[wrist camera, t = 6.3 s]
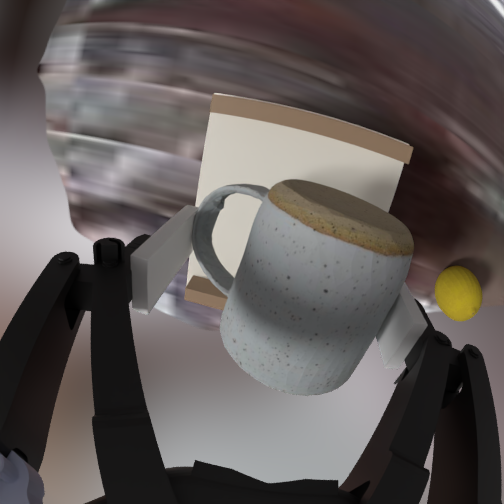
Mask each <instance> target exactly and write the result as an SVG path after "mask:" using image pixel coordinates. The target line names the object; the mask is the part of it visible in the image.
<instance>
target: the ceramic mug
mask: <svg viewBox="0 0 504 504" xmlns="http://www.w3.org/2000/svg"><path fill="white" fill-rule="evenodd" d="M235 193H240V194H245V195H249V196H252V197H254V198H257V199H260V200H261V201H262V204H261V206H260V207H259V209H258V212H257V214H256V217H255V219H254V222H253V225H252V228H251V231H250V234H249V238H248V241H247V244H246V248H245V251H244V254H243V257H242V260H241V262H240V265H239V267H238V270H237V273H236V275H235V278H234V277H233V276H232V275H231V274H230V273H229V272H228V271H227V270H226V269H225V268H224V266H223V265H222V264H221V262H220V261H219V259H218V257H217V255H216V253H215V250H214V248H213V244H212V232H213V229H214V226H215V223H216V220H217V217H218V215H219V213H220V211H221V210H222V209H223V208H224V203H225V199H226V198H227V197H228V196H229V195H231V194H235ZM192 245H193V250H194V253H195V256H196V259H197V261H198V263H199V265H200V267H201V268H202V270H203V272H204V273H205V275H206V276H207V277H208V279H209V280H210V281H211V282H212V283H213V285H214V286H215V287H217V288H218V289H219V290H220V291H221V292H222V293H223V294H224V295H226V296H227V297H228V299H227V301H226V304H225V307H224V310H223V313H222V316H221V323H220V332H221V337H222V340H223V343H224V346H225V348H226V349H227V351H228V353H229V354H230V356H231V357H232V358H233V359H234V361H235V362H236V363H237V364H238V365H239V367H241V368H242V369H243V370H244V371H245V372H247V373H248V374H249V375H250V376H252V377H253V378H254V379H256V380H257V381H259V382H261V383H262V384H264V385H266V386H268V387H271V388H273V389H276V390H281V391H282V392H285V393H289V394H294V395H305V396H307V395H320V394H324V393H328V392H330V391H333V390H335V389H337V388H339V387H340V386H341V385H343V384H344V383H345V382H346V381H347V380H348V379H349V378H350V376H351V374H352V373H353V372H354V370H355V368H356V367H357V365H358V364H359V362H360V360H361V359H362V357H363V356H364V354H365V352H366V351H367V349H368V348H369V346H370V344H371V343H372V341H373V339H374V338H375V336H376V334H377V333H378V331H379V329H380V327H381V325H382V324H383V322H384V320H385V318H386V316H387V314H388V312H389V310H390V309H391V307H392V305H393V303H394V301H395V300H396V298H397V296H398V294H399V292H400V290H401V288H402V286H403V284H404V282H405V279H406V277H407V274H408V270H409V267H410V263H411V259H412V255H413V251H414V242H413V238H412V235H411V233H410V231H409V229H408V228H407V227H406V226H405V225H404V224H403V223H402V222H401V221H400V220H398V219H397V218H395V217H394V216H392V215H391V214H389V213H387V212H386V211H384V210H382V209H380V208H379V207H377V206H375V205H373V204H371V203H369V202H367V201H364V200H362V199H360V198H358V197H356V196H353V195H351V194H348V193H346V192H343V191H340V190H338V189H335V188H332V187H328V186H325V185H322V184H318V183H314V182H310V181H305V180H299V179H288V180H283V181H281V182H279V183H276V184H275V185H274V186H272V187H271V189H268V188H266V187H264V186H260V185H252V184H232V185H226V186H223V187H220V188H218V189H216V190H214V191H213V192H211V193H210V194H209V195H208V196H206V197H205V198H204V200H203V201H202V203H201V204H200V206H199V208H198V210H197V212H196V215H195V218H194V222H193V229H192Z"/></svg>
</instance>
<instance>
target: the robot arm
mask: <svg viewBox="0 0 504 504" xmlns="http://www.w3.org/2000/svg"><path fill="white" fill-rule="evenodd" d="M198 208H199V207H195V206H190V205H186V206H185V207H184V208H183V209H182V210H180V211H179V212H178V213H177V214H176V215H175V216H173V217H172V218H171V219H170V220H169V221H168V222H167V223H165V224H164V225H163V226H162V227H161V228H160V229H159V230H157V231H156V232H155V233H154V234H153V235H152V236H150V235H146V234H144V235H141V236H138V237H136V238H135V239H134V240H132V241H131V243H129V244H128V245H127V246H125V244H124V242H123V241H121V240H120V239H116V238H103V239H100V240H98V241H96V242H95V243H94V245H93V253H94V265H90V264H80V263H79V257H78V255H77V254H75V253H73V252H61V253H59V254H57V255H55V256H54V257H53V258H52V259H51V260H50V262H49V263H48V264H47V266H46V267H45V269H44V270H43V271H42V273H41V274H40V276H39V277H38V279H37V280H36V282H35V283H34V285H33V286H32V288H31V289H30V291H29V292H28V294H27V295H26V297H25V298H24V300H23V302H22V303H21V305H20V307H19V308H18V310H17V312H16V313H15V315H14V317H13V318H12V320H11V322H10V324H9V325H8V327H7V329H6V331H5V333H4V335H3V337H2V338H1V340H0V504H43V502H42V499H43V496H44V484H43V481H42V478H41V477H40V475H39V474H38V471H39V469H40V466H41V463H42V460H43V456H44V452H45V448H46V442H47V437H48V432H49V428H50V423H51V419H52V414H53V410H54V406H55V402H56V398H57V394H58V391H59V387H60V384H61V380H62V377H63V373H64V370H65V367H66V363H67V361H68V357H69V354H70V351H71V348H72V346H73V343H74V340H75V337H76V334H77V332H78V329H79V326H80V323H81V321H82V318H83V316H84V313H85V311H91V368H92V385H93V398H94V409H95V415H94V416H93V417H92V426H93V435H94V441H95V448H96V454H97V459H98V465H99V469H100V474H101V479H102V483H103V488H104V492H105V495H104V496H102V497H99V498H97V499H95V500H92V501H90V502H87V503H85V504H419V502H420V500H421V497H422V495H423V492H424V490H425V487H426V485H427V482H428V479H429V475H430V472H429V470H428V469H425V468H424V464H425V461H426V458H427V455H428V452H429V449H430V446H431V443H432V439H433V436H434V451H433V463H432V473H431V481H430V488H429V495H428V502H427V504H502V502H501V456H500V444H499V435H498V427H497V419H496V413H495V407H494V402H493V396H492V392H491V387H490V382H489V378H488V374H487V370H486V366H485V362H484V359H483V356H482V353H481V352H480V351H479V349H478V348H477V347H475V346H473V345H469V344H466V345H465V346H464V348H463V349H462V350H461V351H459V350H457V349H454V348H452V344H451V341H450V340H449V338H448V337H447V336H446V335H444V334H443V333H441V332H439V331H435V329H434V327H433V325H432V323H431V321H430V320H429V318H428V316H427V314H426V313H425V310H424V308H423V306H422V305H421V304H420V303H419V302H418V301H417V300H416V299H414V298H413V296H412V294H411V292H410V291H409V289H408V287H407V285H406V283H405V282H404V284H403V286H402V288H401V290H400V292H399V294H398V296H397V298H396V300H395V301H394V303H393V305H392V307H391V309H390V310H389V312H388V314H387V316H386V318H385V320H384V322H383V324H382V325H381V327H380V329H379V331H378V333H377V334H376V339H377V342H378V345H379V349H380V353H381V357H382V360H383V364H384V368H389V369H398V368H399V367H400V366H401V364H402V363H403V362H404V360H405V363H406V366H407V367H406V368H405V369H404V371H403V372H402V374H401V375H400V376H399V377H398V379H397V380H396V381H395V382H394V384H396V383H397V382H398V383H397V386H396V388H395V390H394V393H393V395H392V397H391V399H390V402H389V404H388V406H387V408H386V410H385V412H384V414H383V416H382V418H381V420H380V422H379V424H378V426H377V428H376V430H375V432H374V434H373V435H372V437H371V439H370V441H369V443H368V444H367V446H366V448H365V450H364V452H363V453H362V455H361V457H360V458H359V460H358V462H357V463H356V465H355V466H354V468H353V470H352V471H351V473H350V474H349V476H348V477H347V479H346V480H345V482H344V483H343V484H342V485H341V486H340V487H339V488H338V480H312V479H303V480H296V481H289V482H280V483H265V482H263V481H260V480H257V479H255V478H252V477H250V476H247V475H245V474H242V473H240V472H238V471H235V470H233V469H230V468H225V467H221V466H217V465H212V464H208V463H204V462H200V461H197V460H195V462H194V466H193V467H173V468H166V469H165V467H164V464H163V461H162V458H161V454H160V451H159V448H158V444H157V441H156V437H155V434H154V430H153V427H152V423H151V419H150V416H149V413H148V410H147V406H146V402H145V398H144V393H143V389H142V384H141V379H140V374H139V369H138V364H137V358H136V352H135V346H134V340H133V333H132V327H131V319H130V311H129V303H130V301H131V300H132V308H133V310H134V311H137V312H140V313H143V314H146V315H148V314H149V313H150V311H151V310H152V308H153V307H154V305H155V304H156V303H157V301H158V300H159V298H160V297H161V295H162V294H163V292H164V291H165V290H166V288H167V287H168V285H169V284H170V282H171V281H172V280H173V278H174V277H175V275H176V274H177V272H178V271H179V270H180V268H181V267H182V265H183V264H184V263H185V261H186V260H187V258H188V257H189V256H190V254H191V253H192V252H193V245H192V229H193V222H194V218H195V215H196V212H197V210H198ZM461 387H462V389H461V391H460V393H459V389H460V388H461Z"/></svg>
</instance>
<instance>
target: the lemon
mask: <svg viewBox="0 0 504 504" xmlns="http://www.w3.org/2000/svg"><path fill="white" fill-rule="evenodd" d="M435 297H436V300H437V303H438V305H439V307H440V309H441V310H442V311H443V312H444V313H445V314H446V315H447V316H448V317H449V318H451V319H453V320H455V321H465V320H468V319H470V318H472V317H473V316H474V315H475V314H476V313H477V312H478V310H479V308H480V306H481V303H482V289H481V287H480V284H479V282H478V280H477V278H476V277H475V275H474V274H473V273H472V272H471V271H470V270H468V269H467V268H464V267H462V266H451V267H448V268H446V269H445V270H443V271H442V272H441V274H440V275H439V277H438V278H437V281H436V284H435Z"/></svg>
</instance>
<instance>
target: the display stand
mask: <svg viewBox="0 0 504 504" xmlns="http://www.w3.org/2000/svg"><path fill="white" fill-rule="evenodd" d="M210 112H211V113H210V118H209V123H208V129H207V135H206V140H205V146H204V152H203V158H202V165H201V171H200V178H199V184H198V191H197V198H196V206H195V207H199V206H200V204H201V203H202V201H203V200H204V198H205V197H206V196H208V195H209V194H210V193H211V192H213V191H214V190H216V189H218V188H220V187H223V186H226V185H232V184H252V185H260V186H264V187H266V188H268V189H271V187H272V186H274V185H275V184H276V183H279V182H281V181H283V180H288V179H299V180H305V181H310V182H314V183H318V184H322V185H325V186H328V187H332V188H335V189H338V190H340V191H343V192H346V193H348V194H351V195H353V196H356V197H358V198H360V199H362V200H364V201H367V202H369V203H371V204H373V205H375V206H377V207H379V208H380V209H382V210H384V211H386V212H387V213H388V212H389V209H390V206H391V203H392V200H393V197H394V194H395V191H396V188H397V185H398V182H399V178H400V175H401V172H402V169H403V165H404V163H406V164H409V161H410V158H411V154H412V151H413V147H411V146H409V144H407V143H405V142H402V141H400V140H397V139H395V138H392V137H390V136H387V135H384V134H382V133H379V132H376V131H373V130H370V129H367V128H365V127H362V126H359V125H356V124H352V123H349V122H346V121H343V120H340V119H336V118H333V117H329V116H326V115H322V114H318V113H315V112H311V111H307V110H303V109H299V108H295V107H290V106H286V105H282V104H277V103H272V102H267V101H262V100H257V99H251V98H245V97H239V96H233V95H226V94H219V93H214V94H213V96H212V101H211V106H210ZM261 204H262V201H261V200H260V199H257V198H254V197H252V196H249V195H245V194H240V193H235V194H231V195H229V196H228V197H227V198H226V199H225V203H224V208H223V209H222V210H221V211H220V213H219V215H218V217H217V220H216V223H215V226H214V229H213V232H212V244H213V248H214V250H215V253H216V255H217V257H218V259H219V261H220V262H221V264H222V265H223V266H224V268H225V269H226V270H227V271H228V272H229V273H230V274H231V275H232V276H233V277H234V278H235V275H236V273H237V270H238V267H239V265H240V262H241V260H242V257H243V254H244V251H245V248H246V244H247V241H248V238H249V234H250V231H251V228H252V225H253V222H254V219H255V217H256V214H257V212H258V209H259V207H260V206H261ZM227 299H228V297H227V296H226V295H224V294H223V293H222V292H221V291H220V290H219V289H218V288H217V287H215V286H214V285H213V283H212V282H211V281H210V280H209V279H208V277H207V276H206V275H205V273H204V272H203V270H202V268H201V267H200V265H199V263H198V261H197V259H196V256H195V253H194V250H193V252H192V253H191V254H190V256H189V266H188V276H187V286H186V288H185V300H187V301H191V302H194V303H198V304H201V305H205V306H209V307H212V308H216V309H220V310H224V307H225V304H226V301H227Z"/></svg>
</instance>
